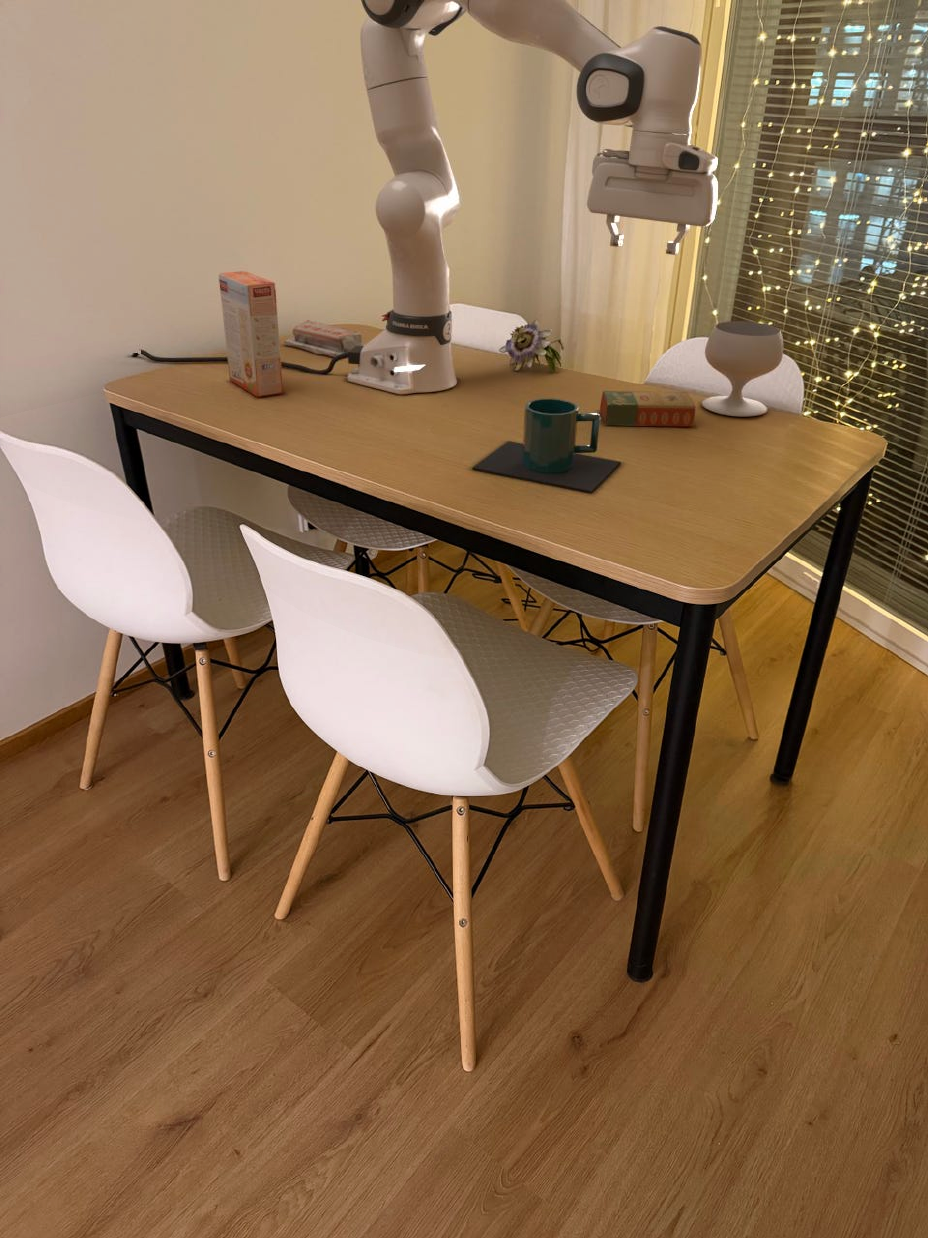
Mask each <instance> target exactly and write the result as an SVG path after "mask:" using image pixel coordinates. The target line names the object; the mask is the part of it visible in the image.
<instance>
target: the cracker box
mask: <svg viewBox="0 0 928 1238" xmlns="http://www.w3.org/2000/svg"><path fill="white" fill-rule="evenodd" d="M218 282H219V283H218V284H219V291H220V299H221V309H222V318H223V328H224V336H225V346H226V355H227V356H226V357H228V362H227V365H228V374H229V375H228V376H229V381H230V382H232V383H233V384H235V385H237V386H239V387H240V388H242V389H244V390H245V391H247V392H248V393H250V394H251V395H253V396H255V397H257V398H259V397H260V398H261V397H267V396H274V395H275V396H276V395H280V394H284V383H283V371H282V369H283V368H282V367H281V362H282V357H281V356H282V355H281V344H280V343H281V342H280V329H279V319H278V318H279V317H278V306H277V305H278V304H277V291H276V283H275V282H274V281H271V280H268V279H266V278H263V277H261V276H258V275H255V274H253V273H251V272H248V271H244V270H243V271H242V270H240V271H229V272H221V273H218Z"/></svg>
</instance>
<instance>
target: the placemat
mask: <svg viewBox="0 0 928 1238" xmlns="http://www.w3.org/2000/svg"><path fill="white" fill-rule="evenodd" d="M522 452H523V443H522V442H521V443H520V442H515V441H510V440H508V441H507V442H505V443H504V444H502V445H501V446H500V447H498V448H497V449H496V450H494V451H493V452H492V453H490V454H489V455H487V456H486V457H485V458H483V459H482V460H481V461H478V462H477V464H475V465H473V466H472V470H473V471H478V472H483V473H488V474H492V475H498V476H503V477H507V478H512V479H518V480H522V481H527V482H533V483H538V484H542V485H548V486H553V487H558V488H562V489H568V490H573V491H577V492H581V493H588V494H593V493H594V491H596V489H597V488H599V486H601V485H602V484H603V482H604V481H606V479H607V478H608V477H610V475H611V474H612V473H613V472H614V471H616V469H617V468H618V467H619V466H620V465H621V461H619V460H614V459H607V458H603V457H598V456H592V455H586V454H582V453H575V457H574V464H573V467H572V469H570V470H568V471H566V472H562V473H540V472H535V471H532V470H529V469H527V468H525V467H524V466H523V464H522V461H523V460H522Z"/></svg>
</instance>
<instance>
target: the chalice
mask: <svg viewBox="0 0 928 1238" xmlns="http://www.w3.org/2000/svg"><path fill="white" fill-rule="evenodd" d="M708 336H709V337H708V339H707V342H706V344H705V347H704V356H705V359H706V362H707V363H708V364H709V365H710V366H711V367H712V368H713V369H714V370H715V371H717V372H719V374H721V375H723V376H724V377H725V378H726V379H727V380H728V381H729V383H730V384H731V389H732V390H731V393H730V394H729V395H718V396H717V395H716V396H710V397H707V398H705V399H704V400H702V402H701V405H702V406H703V408H704V409H706V410H708V411H710V412H713V413H717V414H720V415H725V416H731V417H755V416H761V415H764V414H765V413H766V412H768V407H767V406H766V405H765V404H764V403H762V402H760V401H758V400H755V399H752V398H748V397H744V396H743V394H742V393H743V389H744V387H745V386H746V385H747V384H748V383H749V382H750V381H752V380H755V379H757V378H759V377H762V376H764V375H766V374H769V373H771V372H773V371H774V370H775V369H776V368H778V367H779V365H780V364H781V363H782V360H783V357H784V339H783V334H782V331H781V330H780V329H779V328H778V327H777V326H774V325H771V324H767V323H761V322H755V321H744V320H743V321H742V320H734V321H733V320H732V321H724V322H723V321H722V322H719V323H717V324H716V325H714V327H713V328H712V330H711V332H710V334H709V335H708Z"/></svg>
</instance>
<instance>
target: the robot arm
mask: <svg viewBox="0 0 928 1238" xmlns="http://www.w3.org/2000/svg"><path fill="white" fill-rule="evenodd" d="M360 1H361V5H362V8H363V9H364V11H365V13H366V14H367V15H368V17H367V18H366V19H365V20H364V21H363V23H362V25H361V28H360V33H359V39H360V41H359V42H360V54H361V55H360V56H361V65H362V73H363V81H364V85H365V90H366V95H367V100H368V104H369V110H370V113H371V119H372V123H373V129H374V133H375V138H376V140H377V143H378V144H379V146H380V148H382V150H383V151H384V153H385V155H386V157H387V159H388V162H389V165H390V167H391V169H392V173H393V175H394V176H393V177H392V178H391V179H389V180H388V181H387V182H386V183H385V184H384V186H383V187H382V188H381V189H380V191H379V193H378V195H377V197H376V199H375V214H376V215H375V216H376V218H377V221H378V223H379V225H380V227H381V229H382V230H383V232H384V236H385V240H386V245H387V250H388V254H389V260H390V265H391V277H392V305H393V306H392V309H391V310H390V311H387V312H386V313H385V314H382V315H381V316H380V317H382V319H381V322H386V325H385V329H383V330H382V331H381V332H380V333H378V334H377V335H376V336H375V337H373V339H371V340H370V341H368V342H367V343H366V345H365V346H355V347H354V348H353V349H351V350H350V351H349V352H347V353H343V354H340V355H338V356H336V357H332V359H331V360H330V362H329V364H328V367H327V368H325V369H315V368H310V367H307V366H304V365H300V364H296V363H291V362H285V361H281V368H287V369H292V370H297V371H302V372H304V373H309V374H312V375H313V374H314V375H327V374H330V373H331V372H332V371H333V370H334V368H335V365H336V363H338V362H339V361H340V360H343V359H347V364H348V365H357V367H356V368H353V369H352V370H351V371H349V372H348V374H347V382H349V383H353V384H358V385H361V386H364V387H369V388H373V389H377V390H381V391H385V392H389V393H393V394H397V395H410V394H416V393H433V392H440V391H445V390H449V389H451V388H453V387H455V386H456V385H457V383H458V379H457V376H456V372H455V368H454V363H453V362H454V361H453V356H452V346H451V341H452V334H453V333H452V332H453V316H452V311H451V310H450V309H451V308H450V306H451V305H450V300H451V298H450V297H451V270H450V265H449V264H448V262H447V259H446V255H445V254H446V253H445V251H444V250H445V249H444V244H443V237H442V231H443V229H445V228H447V227H448V226H450V225H451V224H452V223H453V221H454V220H455V219H456V217H457V216H458V214H459V212H460V209H461V207H462V203H463V193H462V188H461V186H460V184H459V182H458V181H457V179H456V178H455V175H454V173H453V170H452V166H451V163H450V161H449V157H448V154H447V152H446V149H445V147H444V143H443V141H442V138H441V135H440V131H439V128H438V124H437V119H436V118H437V117H436V114H435V109H434V103H433V97H432V92H431V88H430V87H431V86H430V83H429V78H428V71H427V66H426V62H425V56H424V55H425V54H424V43H425V41H426V38H427V36H428V35H431V36H434V37H436V36H438V35H440V34H441V33H442V32H443V31H444V30H445V29H446V28H447V27H449V26H450V25H452V24H453V23H455V22H456V21H458V20H459V19H460V18H461V17H462V16H463V15H464V14H466V13H467V14H468V15H469V16H470V17H471V18H472V19H473V20H475V21H476V22H477V23H478V24H479V25H480V26H482V27H483V28H485V29H486V30H488V31H489V32H491V33H493V34H495V35H496V36H498V37H500V38H502V39H503V40H505V41H509V42H512V43H515V44H520V45H525V46H529V47H533V48H537V49H541V50H544V51H547V52H550V53H552V54H554V55H556V56H558V57H559V58H562V59H563V60H564V61H566V62H567V63H568V64H570V65H571V66H572V67H573V68H574V69H576V70H577V71H578V72H579V76H578V77H577V81H576V82H577V83H576V100H577V104H578V106H579V108H580V111H581V112H582V113H583V115H584V117H586V118H587V119H589V120H591V121H593V122H594V123H596V124H600V125H610V126H624V127H627V128H632V130H631V138H630V144H629V150H622V149H621V150H616V149H615V150H614V149H611V148H605V149H603V150H602V151H600V152H598V153H597V154H596V155H595V156H594V157H593V160H592V168H591V174H592V179H591V182H590V186H589V190H588V194H587V195H588V196H587V200H586V206H587V208H588V209H587V210H588V211H589V212H590V213H591V214H598V215H606V220H605V223H606V226H607V228H608V232H609V234H610V242H609V246H610V247H615V248H621V247H622V246H623V239H624V234H623V233H620V232H619V229H618V227H617V223H619V222H620V217H622V218H623V217H624V218H630V219H639V220H645V221H654V222H662V223H669V224H676V225H677V226H676V232H677V233H678V234H677V236H676V237H675V238H674V240H673V241H672V240H669V241H667V242H666V243H667V244H666V250H665V254H666V255H672V256H676V255H678V253H679V249H680V243H682V241H683V240H684V239H685V237H686V236H687V235H688V233H689V232H690V226H692V227H701V228H704V227H708V226H709V225H710V224H712V223H713V221H714V220H715V217H716V212H717V205H718V191H719V185H718V183H719V182H718V179H717V177H716V175H714V173H712V172H714V171H715V170H717V166H718V160H719V159H718V157H717V156H716V155H714V154H712V153H710V152H708V151H706V150H704V149H702V148H700V147H698V146H696V145H694V144H692V143H691V136H692V115H693V111H694V109H695V106H696V104H697V101H698V95H699V88H700V81H701V72H702V61H703V60H702V57H703V56H702V55H703V54H702V52H703V51H702V44H701V42H700V41H699V39H698V38H697V37H696V36H695V35H694V34H691V33H689V32H685V31H682V30H678V29H674V28H671V27H666V26H661V25H659V26H653V27H652V28H651V29H650V30H648V32H647V33H646V34H644V35H643V36H641V37H640V38H638V39H636V40H634V41H632V42H631V43H628V44H626V45H624V46H620V45H619V44H618V43H616V42H615V41H614V40H612V39H611V38H610V37H609V36H608V35H606V34H605V33H604V32H603V31H601V30H600V29H599V28H597V27H596V26H595V25H594V24H593V23H591V22H590V21H589V20H588V19H587V18H586V17H584V16H583V15H582V14H581V13H579V12H578V11H577V10H576V9H575V8H574V7H573V6H572V5H571V4H570V3H569V2H568V1H567V0H360ZM140 350H141V354H138V353H134V352H133V353H132V354H131V358H138V356H139V355H142V356H144V357H145V358H147V359H149V360H151V361H153V362H157V363H173V364H175V363H176V364H177V363H228V357H227V356H208V357H207V356H206V357H205V356H202V357H198V356H197V357H195V356H194V357H192V356H190V357H189V356H188V357H187V356H186V357H162V356H155V355H153V354H151V353H149V352H148V351H146V350H144V349H140Z"/></svg>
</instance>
